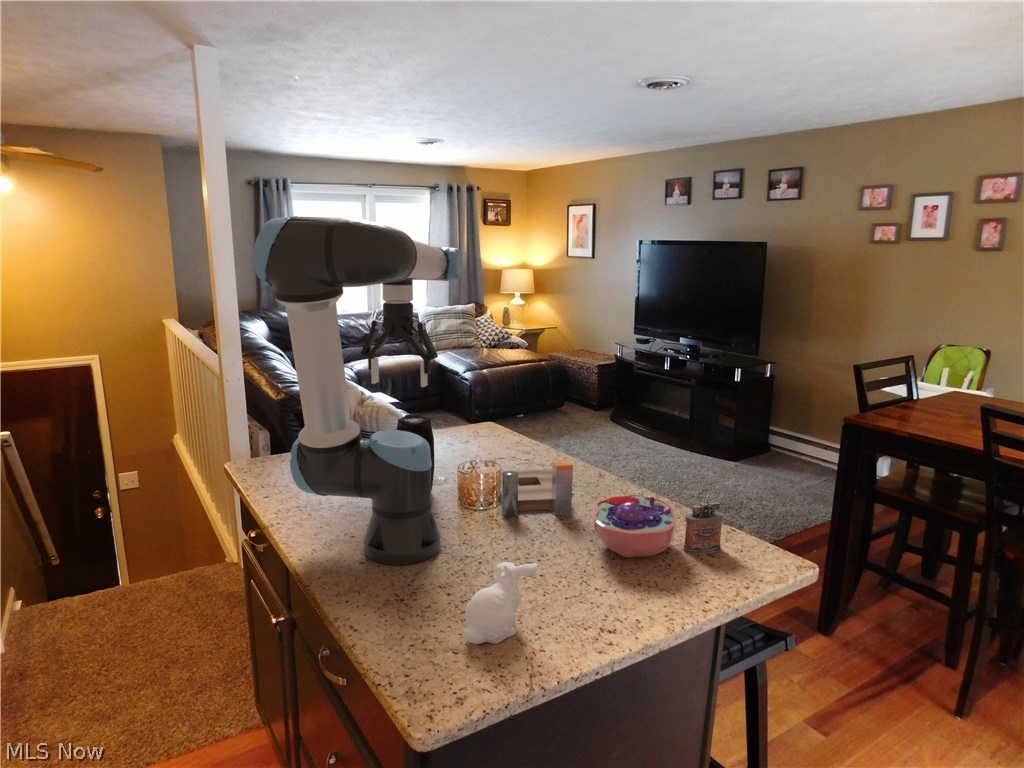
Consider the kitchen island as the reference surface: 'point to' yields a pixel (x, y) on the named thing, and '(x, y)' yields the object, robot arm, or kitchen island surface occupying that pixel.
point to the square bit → (561, 487)
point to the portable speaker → (419, 432)
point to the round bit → (510, 494)
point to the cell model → (635, 524)
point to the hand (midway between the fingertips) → (399, 384)
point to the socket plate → (533, 489)
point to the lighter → (703, 529)
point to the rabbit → (496, 605)
